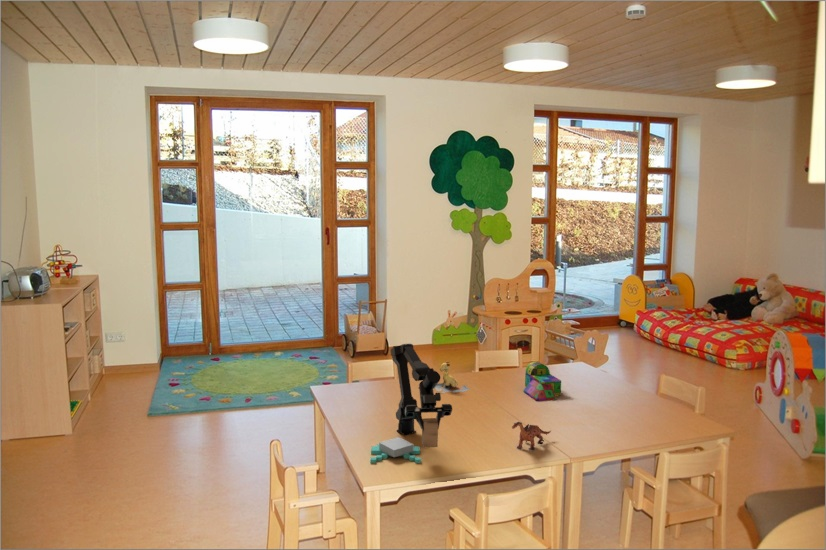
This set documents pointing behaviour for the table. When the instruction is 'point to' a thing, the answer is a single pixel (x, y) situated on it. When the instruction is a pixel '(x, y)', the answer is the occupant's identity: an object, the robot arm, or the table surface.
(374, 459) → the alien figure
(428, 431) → the walnut block
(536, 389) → the block puzzle
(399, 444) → the slate block
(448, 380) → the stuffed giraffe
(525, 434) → the brown animal figure
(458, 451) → the table surface
